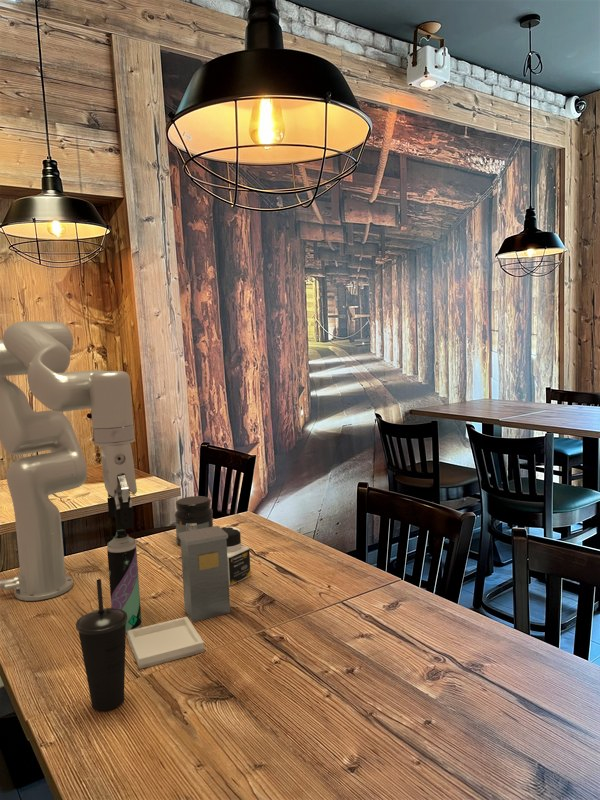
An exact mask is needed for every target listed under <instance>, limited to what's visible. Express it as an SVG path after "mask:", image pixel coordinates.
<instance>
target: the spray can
mask: <svg viewBox="0 0 600 800" xmlns="http://www.w3.org/2000/svg"><path fill="white" fill-rule="evenodd" d="M106 545H107V548H106V551H107V552H106V553H107V554H106V555H107V565H108V567H107V568H108V577H109V578H108V579H109V580H108V581H109V593H110V605H111V606H110V607H111V608H113V609H120V610H123V611H125V612H126V613H127V616H128V619H127V621H126V635H128V634H127V631H129V630H133V629H137V628H142V627H143V626H142V612H141V611H142V610H141V609H142V608H141V599H140V598H141V597H140V596H141V595H140V583H139V581H140V580H139V566H138V552H137V551H138V550H137V543H136V539H135V538H134V537H130V536H129V534H128V533H126V529H123V530H117V529H116V531H115V535H114V536H113V538H112V539H111V540H110V541H108V542H107V544H106Z"/></svg>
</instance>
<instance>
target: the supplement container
mask: <svg viewBox="0 0 600 800" xmlns="http://www.w3.org/2000/svg"><path fill="white" fill-rule="evenodd" d="M175 509H176V511H175V513H174V518H175V533H176V534H175V535H176V537H175V539H176V542H177V544H178V545H180V546H181V540H180V538H179V537H178V533H180V532H186V531H191V530H197V529H202V528H208V527H214V523H213V522H214V521H213V520H214V519H213V514H214V513H213V508H211V499H210V498H209V497H208V496H205V495H204V496H203V495H202V496H201V495H194V496H192V495H191V496H185V497H181V498H180V499H177V500H176V502H175Z"/></svg>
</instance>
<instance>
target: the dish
mask: <svg viewBox="0 0 600 800" xmlns="http://www.w3.org/2000/svg"><path fill="white" fill-rule="evenodd" d="M126 635H127V641H128V643H129V646H130V649H131V651H132V654H133V656H134V659H135V661H136V664H137V667H138V669H139V670H141V669H145V668H149V667H154V666H156V665H160V664H164V663H168V662H172V661H174V660H175V661H176V660H179V659H183V658H186V657H189V656H194V655H197V654H202V653H205V642H204V640H203V639H202V637H201V636H200V634H199V632H198V631H197V629H196V628H195V627H194V625H193V622H192V621H191V619H190V618H189V616H183V617H180V618H176V619H172V620H167V621H163V622H159V623H154V624H149V625H147V626H141V628H137V629H133V630H129V631H127V634H126Z"/></svg>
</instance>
